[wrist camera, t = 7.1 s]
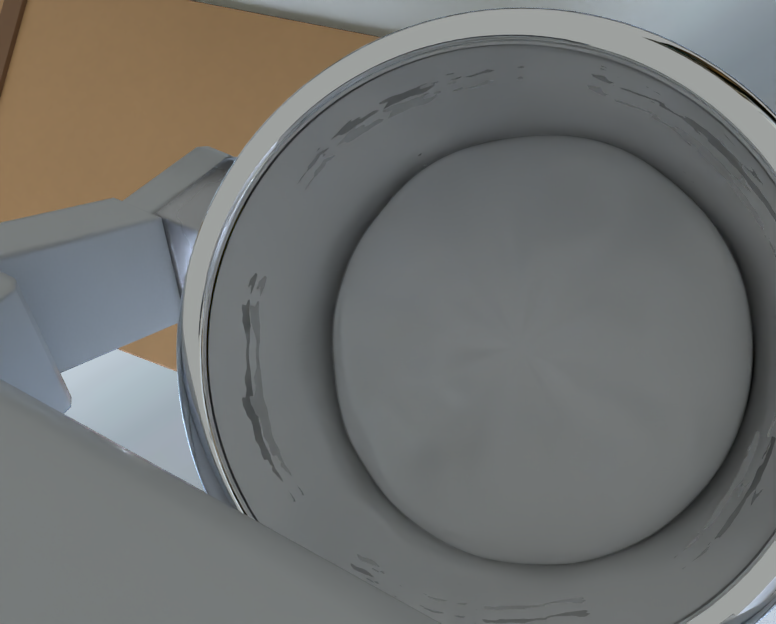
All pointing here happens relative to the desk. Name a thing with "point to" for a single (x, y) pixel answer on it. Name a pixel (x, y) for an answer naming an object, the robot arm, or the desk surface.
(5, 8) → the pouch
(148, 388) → the desk surface
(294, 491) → the beer glass
